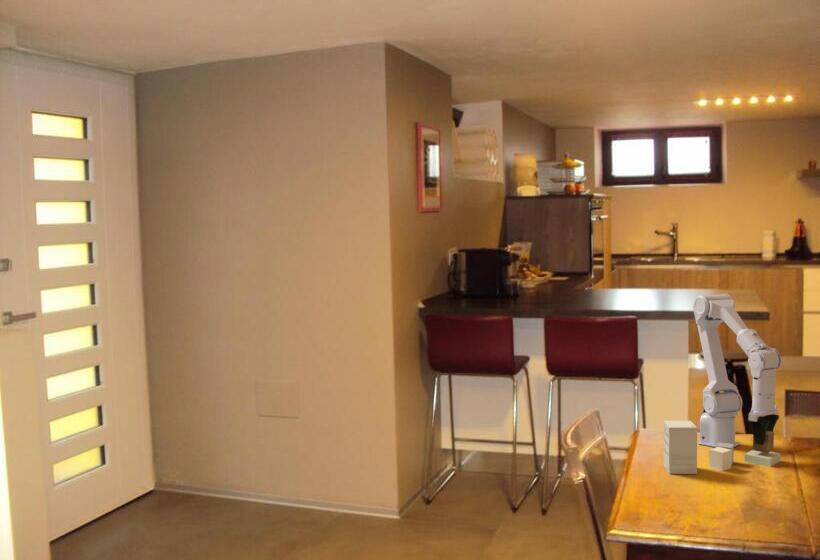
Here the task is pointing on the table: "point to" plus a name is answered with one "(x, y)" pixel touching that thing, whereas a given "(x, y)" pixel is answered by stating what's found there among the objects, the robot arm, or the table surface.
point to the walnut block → (765, 443)
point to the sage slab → (762, 458)
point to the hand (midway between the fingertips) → (762, 442)
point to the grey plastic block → (727, 446)
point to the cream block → (720, 458)
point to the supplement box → (680, 447)
